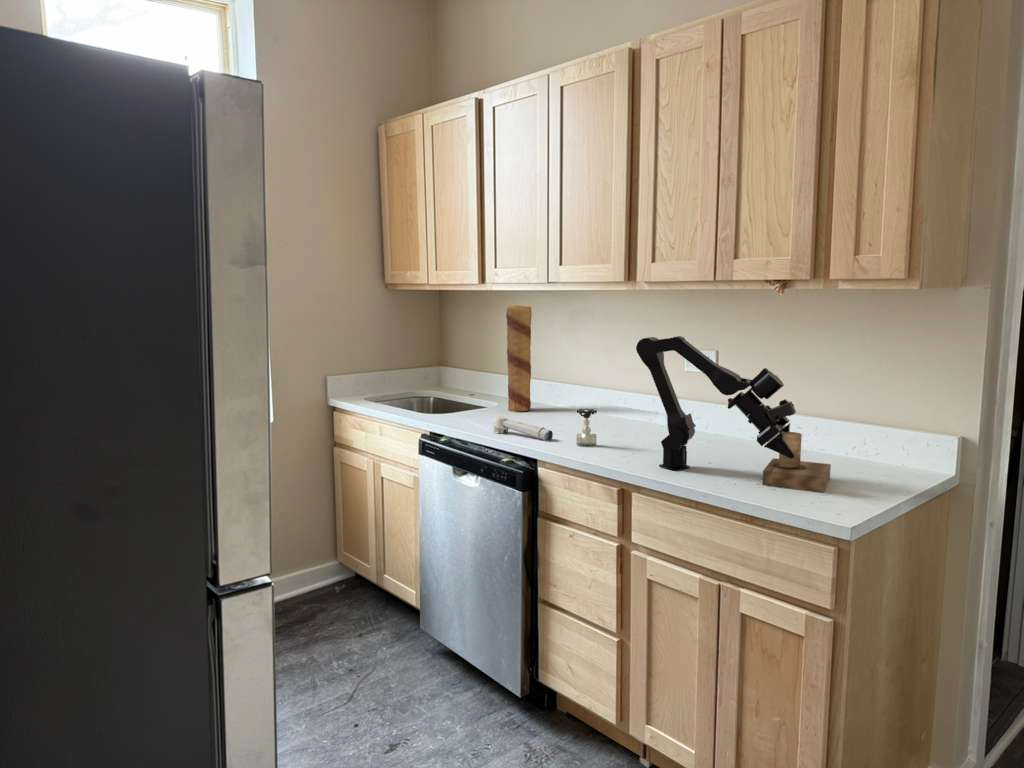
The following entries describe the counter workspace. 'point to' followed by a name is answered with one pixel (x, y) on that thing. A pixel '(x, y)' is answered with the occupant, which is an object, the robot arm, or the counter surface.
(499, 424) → the off-white plastic cylinder
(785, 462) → the dowel
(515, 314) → the wafer roll
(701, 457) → the counter surface
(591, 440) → the valve
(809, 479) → the seat block
